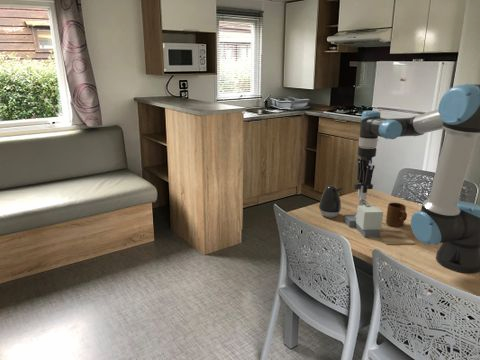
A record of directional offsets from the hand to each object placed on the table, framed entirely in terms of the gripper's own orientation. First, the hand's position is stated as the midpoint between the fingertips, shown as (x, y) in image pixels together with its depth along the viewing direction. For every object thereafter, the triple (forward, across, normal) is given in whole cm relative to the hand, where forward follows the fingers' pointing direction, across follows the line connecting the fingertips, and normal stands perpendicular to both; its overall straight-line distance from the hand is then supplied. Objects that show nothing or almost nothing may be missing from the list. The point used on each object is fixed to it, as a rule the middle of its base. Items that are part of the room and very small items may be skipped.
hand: (361, 198), depth 172 cm
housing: (+12, -5, 0) cm, 13 cm away
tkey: (+9, -3, 0) cm, 9 cm away
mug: (+13, -4, -16) cm, 21 cm away
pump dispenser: (+13, +10, +11) cm, 20 cm away
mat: (+12, -16, -9) cm, 22 cm away
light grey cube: (+9, -10, 0) cm, 13 cm away
